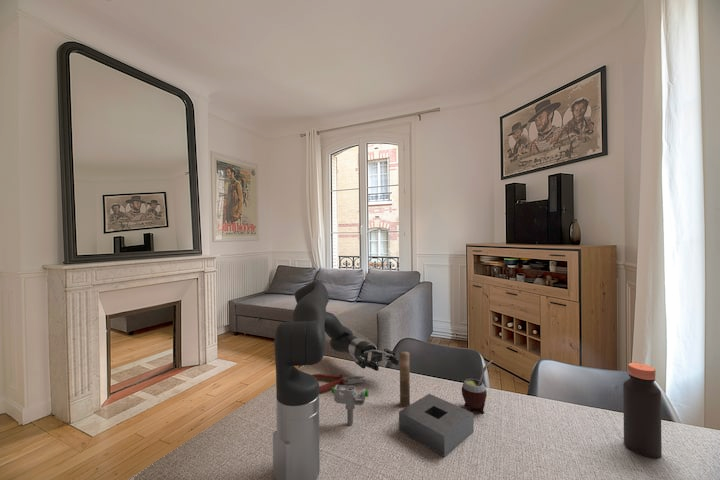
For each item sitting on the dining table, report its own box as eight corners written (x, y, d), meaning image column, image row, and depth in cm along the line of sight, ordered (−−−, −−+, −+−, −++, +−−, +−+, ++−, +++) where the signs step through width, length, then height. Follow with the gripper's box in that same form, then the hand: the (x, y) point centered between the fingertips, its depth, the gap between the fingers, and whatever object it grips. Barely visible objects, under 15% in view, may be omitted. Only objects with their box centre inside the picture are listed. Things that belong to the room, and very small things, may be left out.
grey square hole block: (444, 457, 71) (444, 436, 71) (399, 429, 81) (398, 411, 82) (473, 431, 81) (473, 413, 81) (429, 410, 91) (429, 393, 91)
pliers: (368, 390, 104) (368, 382, 104) (306, 397, 100) (306, 389, 100) (361, 375, 116) (361, 368, 116) (305, 381, 112) (305, 373, 112)
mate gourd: (457, 407, 92) (456, 358, 92) (472, 399, 97) (471, 352, 97) (479, 419, 86) (479, 366, 86) (494, 409, 91) (493, 360, 91)
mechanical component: (367, 429, 82) (366, 392, 82) (331, 425, 84) (330, 389, 84) (369, 422, 85) (368, 387, 85) (334, 418, 87) (333, 384, 87)
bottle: (641, 459, 70) (640, 373, 70) (616, 439, 77) (615, 361, 77) (670, 458, 70) (669, 372, 70) (642, 439, 77) (641, 361, 77)
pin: (405, 408, 92) (405, 355, 92) (398, 404, 94) (397, 353, 94) (411, 404, 94) (411, 353, 94) (404, 401, 96) (403, 350, 96)
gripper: (345, 344, 111) (370, 358, 97) (377, 337, 119) (404, 349, 105) (346, 364, 111) (370, 381, 97) (377, 356, 119) (404, 371, 105)
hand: (388, 365), depth 101 cm, fingers open, 8 cm apart
